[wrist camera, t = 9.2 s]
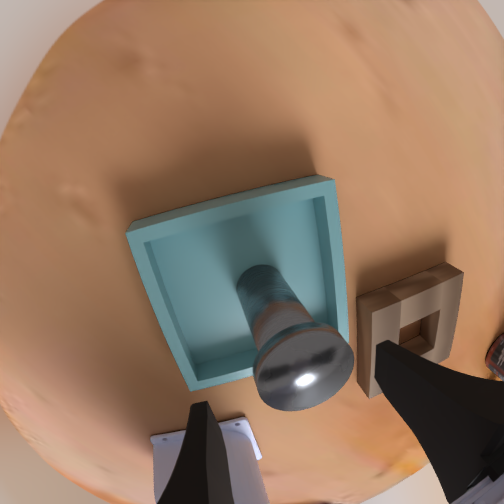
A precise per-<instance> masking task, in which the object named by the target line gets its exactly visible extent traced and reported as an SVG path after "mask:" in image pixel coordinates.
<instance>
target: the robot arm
mask: <svg viewBox="0 0 504 504" xmlns="http://www.w3.org/2000/svg"><path fill="white" fill-rule="evenodd" d="M374 378H375V380H376V381H377V383H378V385H379V387H380V389H381V390H382V392H383V394H384V395H385V397H386V398H387V399H388V401H389V402H390V403H391V404H392V406H393V407H394V408H395V410H396V411H397V412H398V413H399V415H400V416H401V417H402V418H403V420H404V421H405V422H406V424H407V425H408V426H409V427H410V429H411V430H412V431H413V433H414V434H415V436H416V437H417V439H418V441H419V443H420V444H421V446H422V448H423V449H424V451H425V453H426V455H427V457H428V459H429V461H430V462H431V464H432V466H433V469H434V471H435V473H436V475H437V477H438V479H439V481H440V484H441V486H442V489H443V491H444V493H445V496H446V499H447V501H448V503H449V504H504V381H496V380H489V379H484V378H479V377H475V376H471V375H467V374H464V373H460V372H457V371H454V370H451V369H449V368H446V367H444V366H441V365H439V364H436V363H434V362H432V361H430V360H427V359H425V358H423V357H421V356H419V355H417V354H415V353H413V352H411V351H409V350H407V349H405V348H403V347H401V346H400V345H398V344H396V343H394V342H392V341H390V340H386V341H383V342H381V343H379V344H377V345H376V355H375V374H374ZM150 441H151V443H152V444H153V470H154V495H155V501H156V504H270V502H269V499H268V496H267V493H266V489H265V486H264V483H263V479H262V476H261V472H260V469H259V466H258V462H257V460H259V459H261V458H262V455H261V452H260V450H259V447H258V445H257V442H256V440H255V437H254V435H253V432H252V430H251V427H250V424H249V422H248V419H247V418H245V417H240V418H236V419H232V420H228V421H224V422H220V423H218V422H217V420H216V418H215V416H214V414H213V412H212V410H211V408H210V406H209V404H208V402H207V401H204V402H200V403H195V404H192V405H191V407H190V413H189V418H188V423H187V427H186V430H183V431H178V432H172V433H167V434H161V435H154V436H151V437H150Z"/></svg>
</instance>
